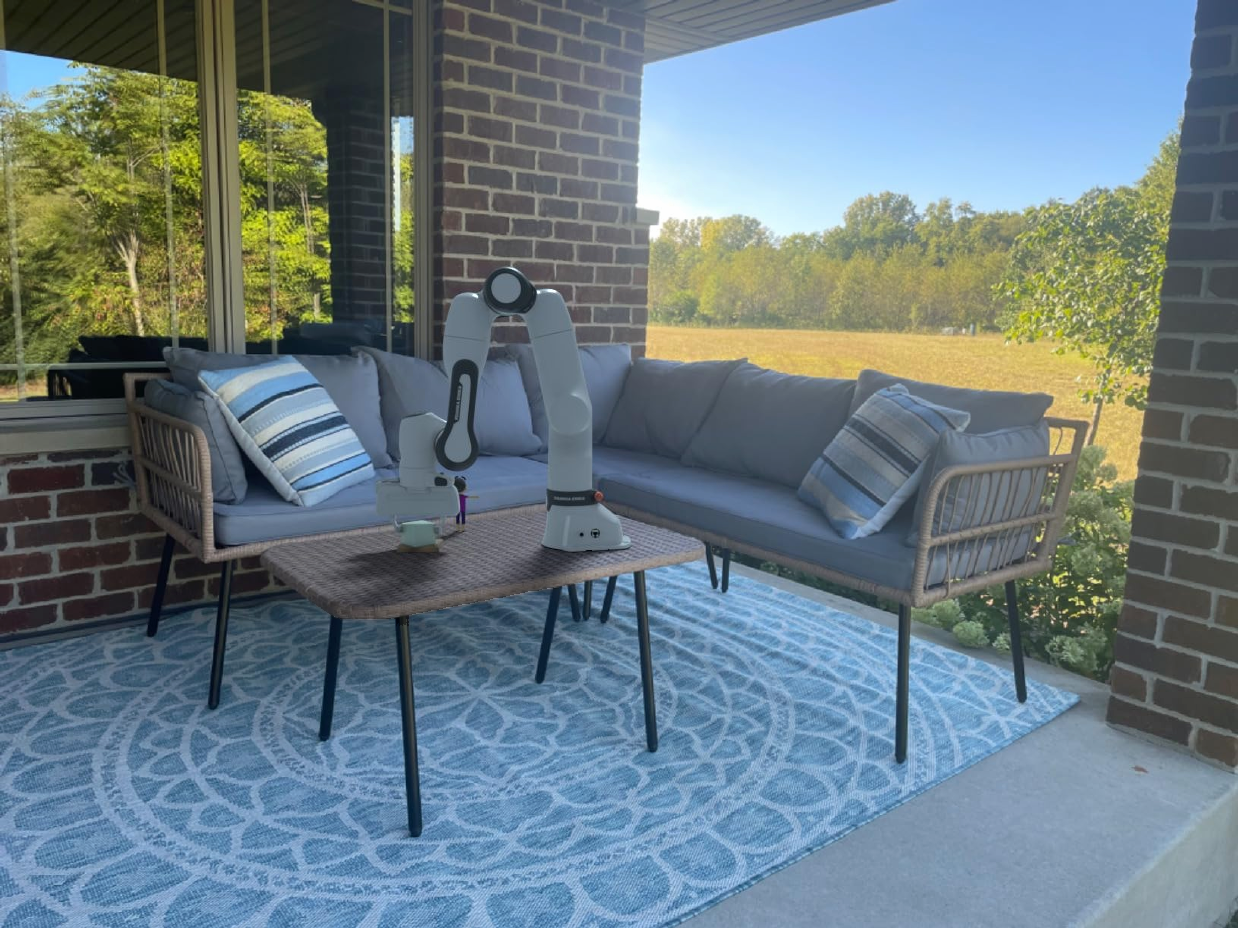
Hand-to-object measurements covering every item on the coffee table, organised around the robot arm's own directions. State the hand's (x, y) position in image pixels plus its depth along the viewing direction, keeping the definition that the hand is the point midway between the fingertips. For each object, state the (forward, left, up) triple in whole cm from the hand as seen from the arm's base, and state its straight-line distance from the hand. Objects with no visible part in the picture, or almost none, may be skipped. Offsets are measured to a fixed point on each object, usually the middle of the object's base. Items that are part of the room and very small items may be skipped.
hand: (418, 533), depth 220 cm
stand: (0, 0, -4) cm, 4 cm away
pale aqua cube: (0, 0, -3) cm, 3 cm away
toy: (-8, -19, -4) cm, 21 cm away
